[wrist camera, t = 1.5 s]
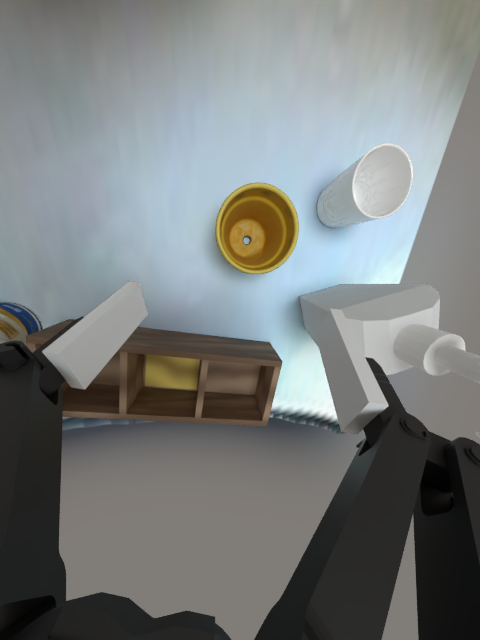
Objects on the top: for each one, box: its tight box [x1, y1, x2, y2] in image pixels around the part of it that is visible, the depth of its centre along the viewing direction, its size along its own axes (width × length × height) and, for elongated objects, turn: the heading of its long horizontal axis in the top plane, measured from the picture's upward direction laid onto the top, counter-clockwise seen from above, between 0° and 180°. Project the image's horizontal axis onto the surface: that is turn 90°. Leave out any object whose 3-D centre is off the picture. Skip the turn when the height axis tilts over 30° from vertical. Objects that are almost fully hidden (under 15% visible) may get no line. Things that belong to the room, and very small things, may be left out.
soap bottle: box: [299, 284, 480, 438], centre depth 26 cm, size 12×10×26 cm
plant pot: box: [216, 183, 299, 274], centre depth 28 cm, size 10×10×10 cm
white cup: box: [317, 143, 413, 228], centre depth 28 cm, size 8×8×10 cm
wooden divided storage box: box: [26, 319, 282, 426], centre depth 34 cm, size 13×36×8 cm, turn 81°
